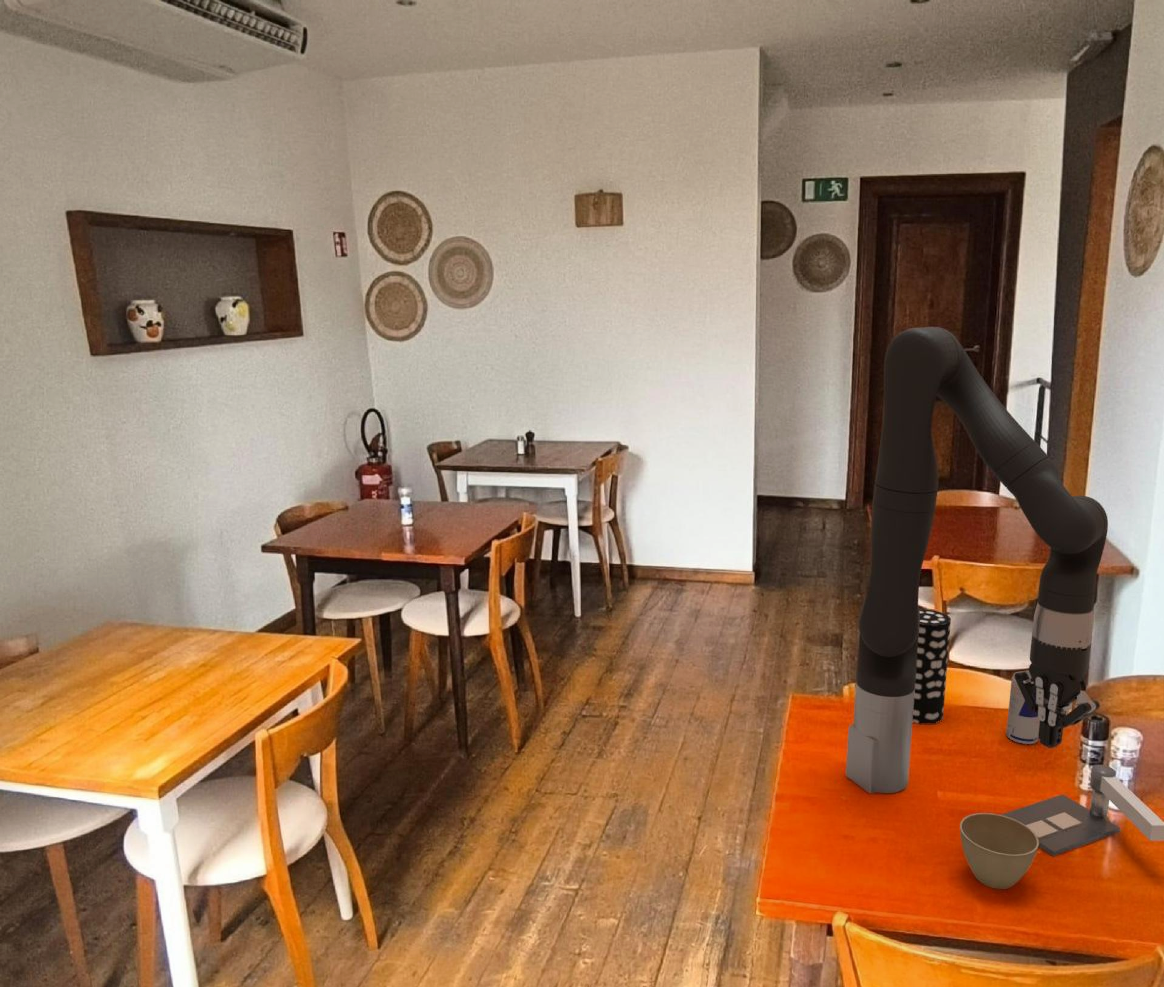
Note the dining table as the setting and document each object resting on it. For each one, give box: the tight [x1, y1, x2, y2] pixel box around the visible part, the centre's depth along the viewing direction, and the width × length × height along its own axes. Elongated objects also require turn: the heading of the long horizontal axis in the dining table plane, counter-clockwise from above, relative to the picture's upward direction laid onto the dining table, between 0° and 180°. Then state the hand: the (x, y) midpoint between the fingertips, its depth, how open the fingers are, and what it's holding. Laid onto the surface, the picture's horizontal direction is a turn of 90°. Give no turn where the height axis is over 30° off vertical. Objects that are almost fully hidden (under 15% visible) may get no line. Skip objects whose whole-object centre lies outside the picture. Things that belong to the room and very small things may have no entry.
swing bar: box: [1089, 764, 1164, 842], centre depth 133 cm, size 16×3×3 cm, turn 179°
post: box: [1089, 788, 1110, 820], centre depth 140 cm, size 2×2×5 cm
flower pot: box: [959, 812, 1039, 890], centre depth 126 cm, size 10×10×7 cm
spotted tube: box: [912, 608, 952, 724], centre depth 172 cm, size 8×8×20 cm
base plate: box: [1000, 794, 1121, 857], centre depth 138 cm, size 14×10×1 cm
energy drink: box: [1005, 671, 1040, 745], centre depth 163 cm, size 5×5×12 cm
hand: (1049, 745), depth 133 cm, fingers closed
